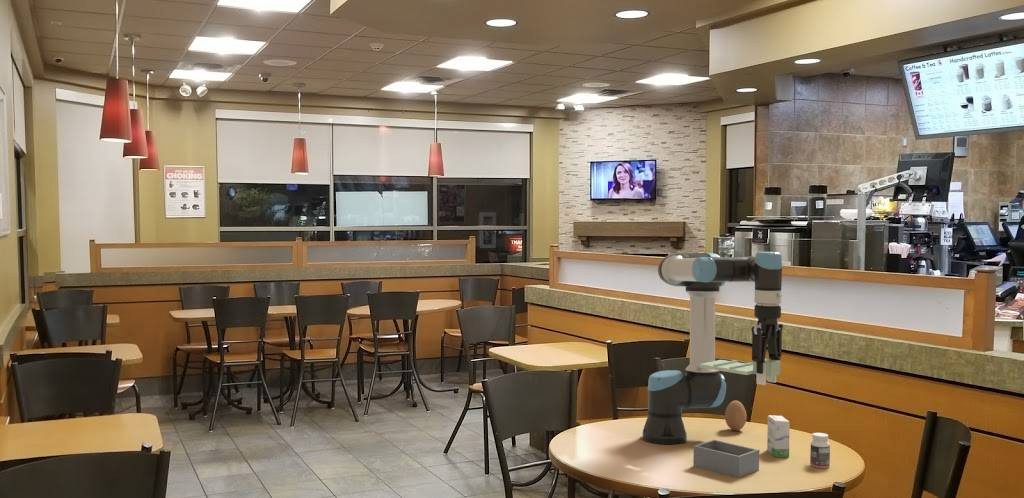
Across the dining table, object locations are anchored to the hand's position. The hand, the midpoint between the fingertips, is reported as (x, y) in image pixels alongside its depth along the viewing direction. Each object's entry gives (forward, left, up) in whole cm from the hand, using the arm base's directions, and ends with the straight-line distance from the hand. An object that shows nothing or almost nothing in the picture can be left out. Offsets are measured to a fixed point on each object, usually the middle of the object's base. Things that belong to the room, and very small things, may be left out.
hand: (766, 382), depth 250 cm
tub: (-12, -2, -29) cm, 31 cm away
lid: (-8, 0, +3) cm, 9 cm away
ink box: (-11, +27, -29) cm, 41 cm away
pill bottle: (+5, +24, -29) cm, 38 cm away
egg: (-37, +43, -29) cm, 64 cm away
